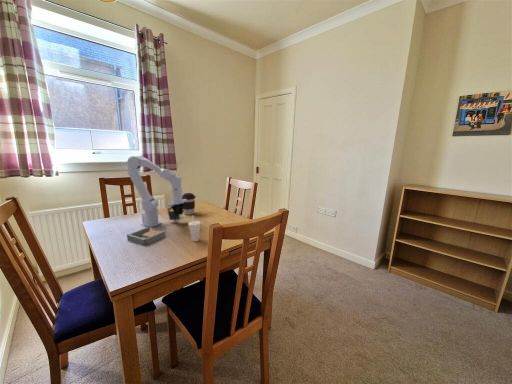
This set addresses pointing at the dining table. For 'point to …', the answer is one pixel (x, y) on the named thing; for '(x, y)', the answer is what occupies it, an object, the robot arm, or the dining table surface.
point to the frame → (135, 238)
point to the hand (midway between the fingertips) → (178, 215)
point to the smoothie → (194, 229)
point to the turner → (176, 218)
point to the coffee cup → (189, 203)
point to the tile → (150, 234)
